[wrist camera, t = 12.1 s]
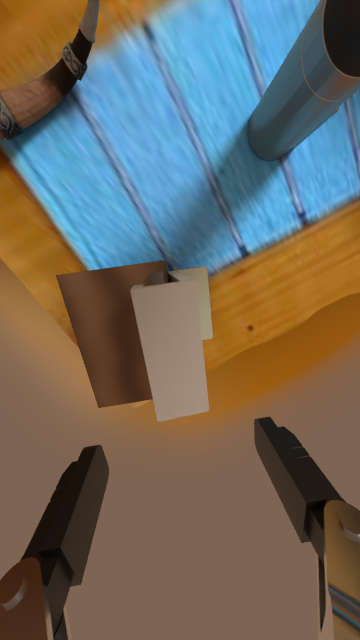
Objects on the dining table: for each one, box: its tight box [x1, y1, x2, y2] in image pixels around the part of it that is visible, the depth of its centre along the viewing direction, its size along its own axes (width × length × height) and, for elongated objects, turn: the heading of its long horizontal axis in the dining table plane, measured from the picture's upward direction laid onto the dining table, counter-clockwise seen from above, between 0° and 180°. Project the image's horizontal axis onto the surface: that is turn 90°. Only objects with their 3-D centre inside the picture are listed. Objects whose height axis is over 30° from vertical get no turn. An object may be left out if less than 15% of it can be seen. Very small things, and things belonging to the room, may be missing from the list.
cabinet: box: [56, 261, 185, 417], centre depth 31 cm, size 12×18×25 cm, turn 7°
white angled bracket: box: [130, 266, 213, 422], centre depth 28 cm, size 12×14×20 cm
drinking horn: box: [0, 0, 99, 140], centre depth 27 cm, size 6×30×10 cm, turn 119°
